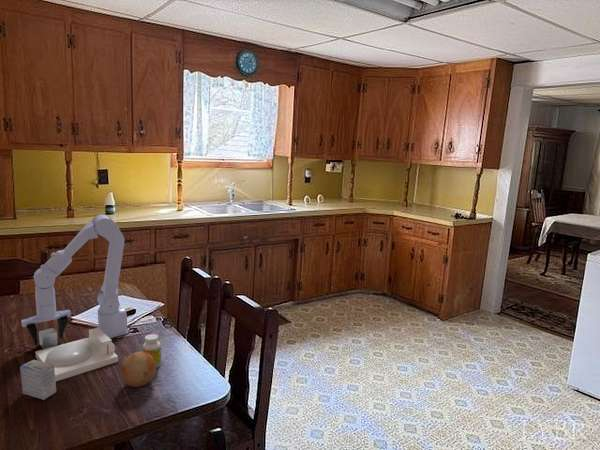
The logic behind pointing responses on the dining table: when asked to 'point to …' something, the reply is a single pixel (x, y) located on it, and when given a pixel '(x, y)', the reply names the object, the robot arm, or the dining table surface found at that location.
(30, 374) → the medicine box
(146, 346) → the supplement bottle
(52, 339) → the steel weight
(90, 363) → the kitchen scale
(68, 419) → the dining table surface
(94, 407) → the dining table surface
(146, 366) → the onion
